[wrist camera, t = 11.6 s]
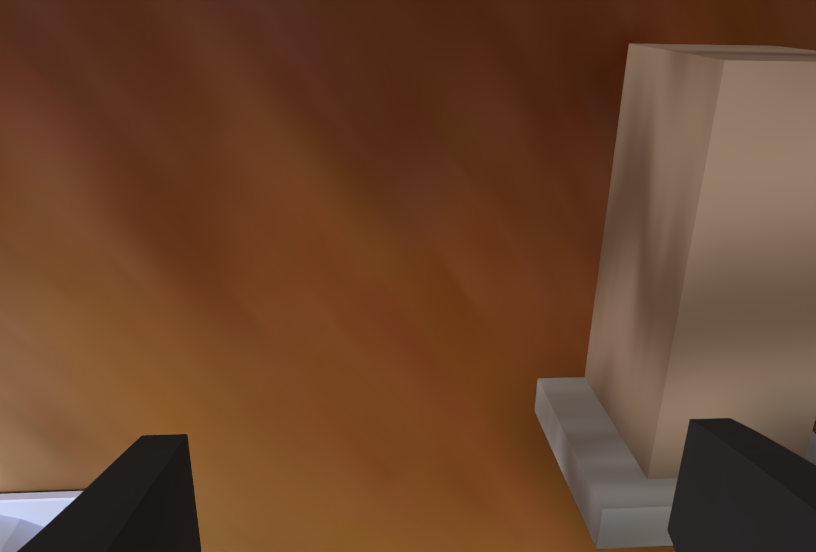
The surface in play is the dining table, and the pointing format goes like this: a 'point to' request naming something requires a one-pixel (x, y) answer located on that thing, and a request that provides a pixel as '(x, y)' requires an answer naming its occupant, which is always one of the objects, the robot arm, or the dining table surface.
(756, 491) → the robot arm
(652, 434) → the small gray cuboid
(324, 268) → the dining table surface
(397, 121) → the dining table surface
